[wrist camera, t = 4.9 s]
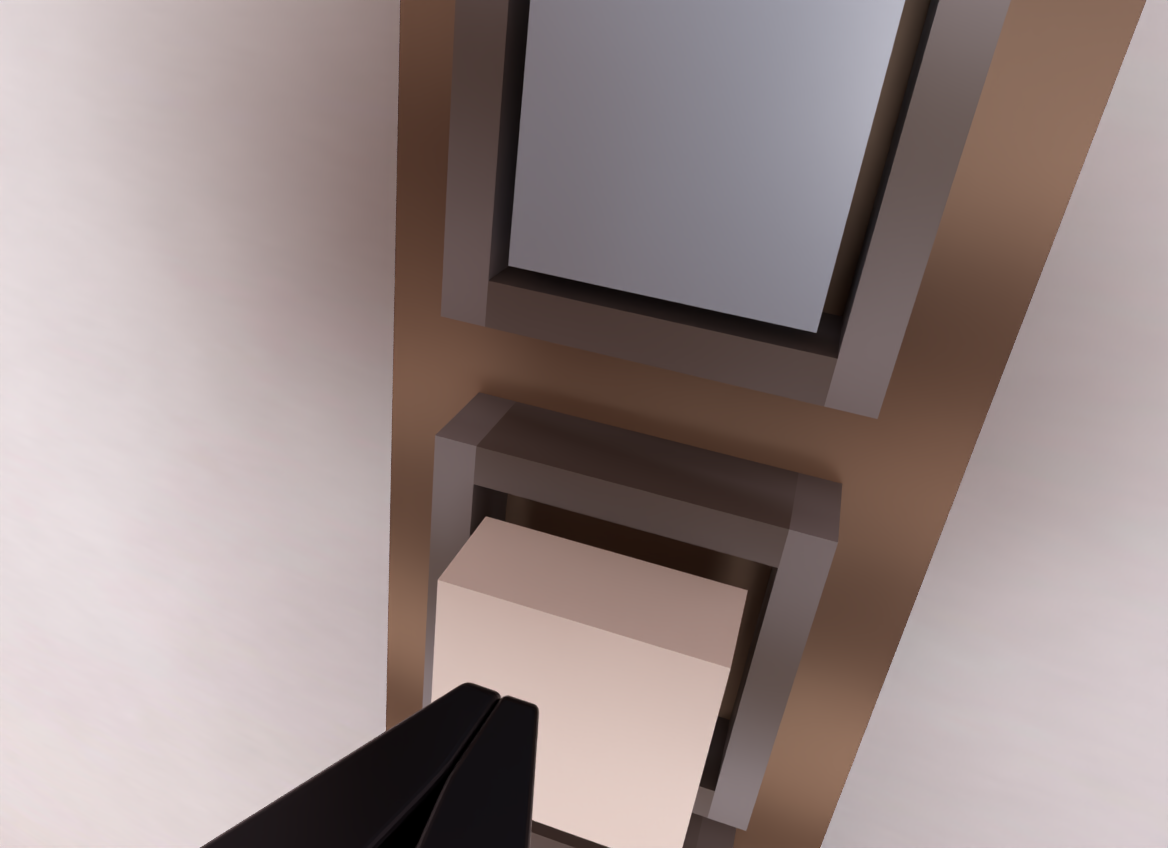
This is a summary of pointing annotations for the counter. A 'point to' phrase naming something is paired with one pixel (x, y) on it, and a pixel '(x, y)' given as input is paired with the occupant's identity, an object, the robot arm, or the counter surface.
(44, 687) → the counter surface
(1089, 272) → the counter surface
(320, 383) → the counter surface
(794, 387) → the keypad board
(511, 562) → the beige key
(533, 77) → the slate key
